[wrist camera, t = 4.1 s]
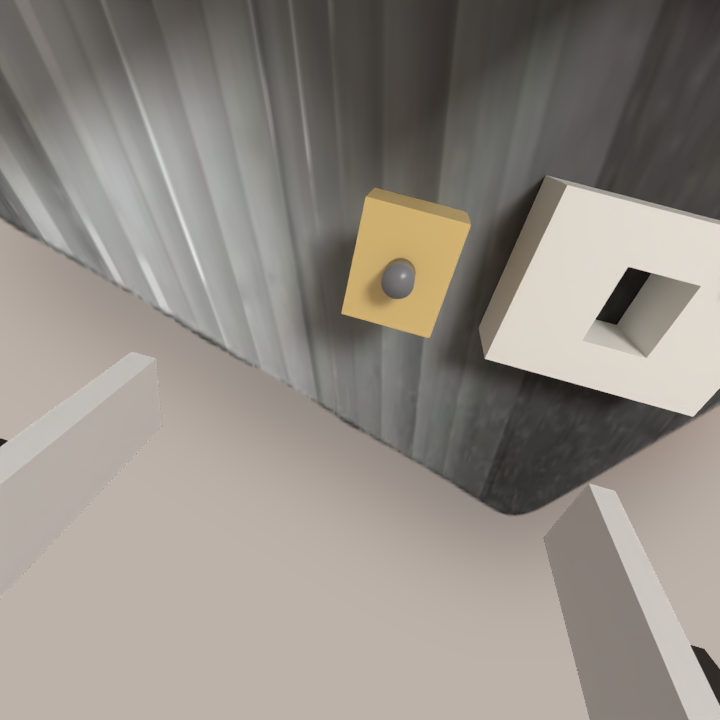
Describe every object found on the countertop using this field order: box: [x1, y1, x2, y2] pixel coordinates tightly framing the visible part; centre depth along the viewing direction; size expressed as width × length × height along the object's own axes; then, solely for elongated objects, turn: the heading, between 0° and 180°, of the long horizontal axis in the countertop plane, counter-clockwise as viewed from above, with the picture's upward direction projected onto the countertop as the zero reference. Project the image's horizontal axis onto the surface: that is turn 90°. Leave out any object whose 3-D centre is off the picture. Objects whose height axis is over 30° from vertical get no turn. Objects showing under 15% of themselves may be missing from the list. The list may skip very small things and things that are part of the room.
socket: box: [479, 175, 720, 417], centre depth 31 cm, size 18×14×7 cm
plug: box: [341, 188, 471, 338], centre depth 29 cm, size 6×8×13 cm
